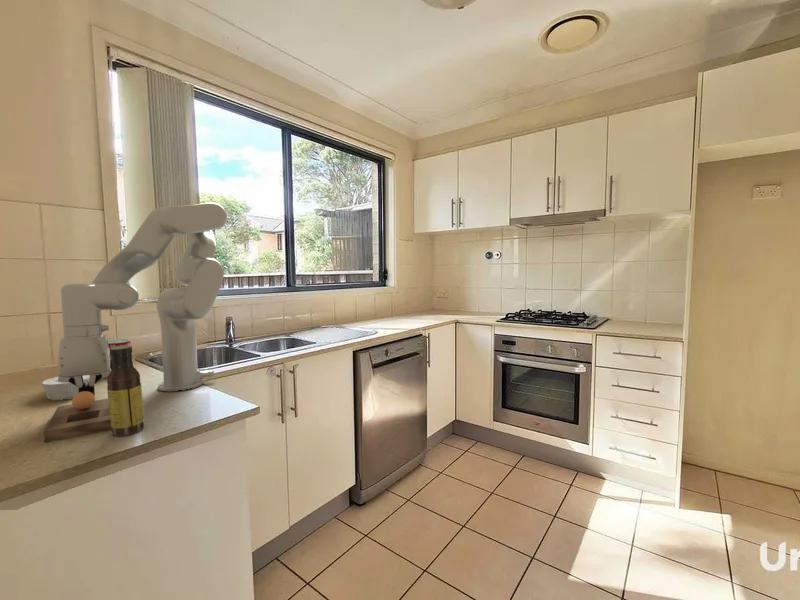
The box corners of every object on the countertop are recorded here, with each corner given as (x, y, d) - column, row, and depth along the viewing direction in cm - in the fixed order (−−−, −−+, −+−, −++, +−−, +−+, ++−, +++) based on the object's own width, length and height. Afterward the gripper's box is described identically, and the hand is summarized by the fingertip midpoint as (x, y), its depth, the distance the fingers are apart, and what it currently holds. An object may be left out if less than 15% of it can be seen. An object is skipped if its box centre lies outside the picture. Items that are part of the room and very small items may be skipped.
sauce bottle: (141, 423, 89) (136, 342, 87) (147, 431, 84) (143, 346, 83) (107, 431, 84) (102, 346, 82) (113, 440, 80) (107, 350, 78)
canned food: (117, 377, 127) (116, 343, 126) (98, 376, 128) (96, 342, 127) (137, 371, 134) (135, 339, 133) (119, 370, 136) (117, 338, 135)
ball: (94, 386, 94) (90, 393, 90) (98, 401, 95) (94, 409, 91) (72, 390, 92) (67, 398, 88) (76, 406, 93) (72, 414, 89)
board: (126, 404, 101) (126, 395, 101) (125, 426, 87) (124, 416, 87) (58, 415, 93) (58, 406, 93) (44, 442, 79) (43, 431, 78)
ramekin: (33, 403, 102) (31, 385, 101) (58, 391, 112) (57, 374, 112) (81, 400, 105) (80, 382, 104) (101, 388, 115) (100, 371, 115)
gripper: (120, 327, 101) (123, 391, 103) (46, 331, 93) (51, 402, 94) (118, 330, 95) (122, 399, 97) (39, 336, 87) (44, 411, 88)
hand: (87, 400), depth 95 cm, fingers closed
